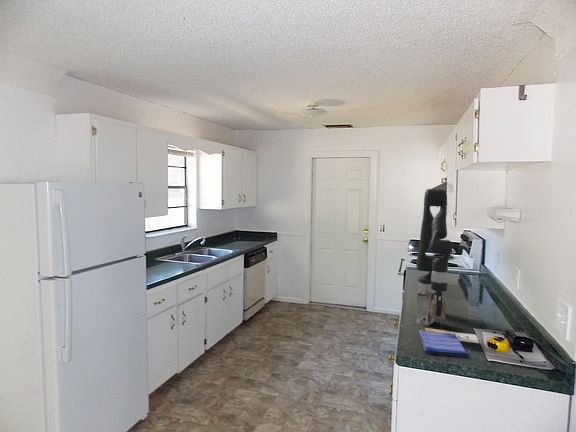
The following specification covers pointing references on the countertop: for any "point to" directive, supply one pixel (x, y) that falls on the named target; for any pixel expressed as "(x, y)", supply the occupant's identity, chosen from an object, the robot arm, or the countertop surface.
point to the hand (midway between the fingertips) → (437, 314)
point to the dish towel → (442, 343)
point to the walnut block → (433, 309)
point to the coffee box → (424, 308)
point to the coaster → (436, 330)
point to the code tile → (466, 337)
